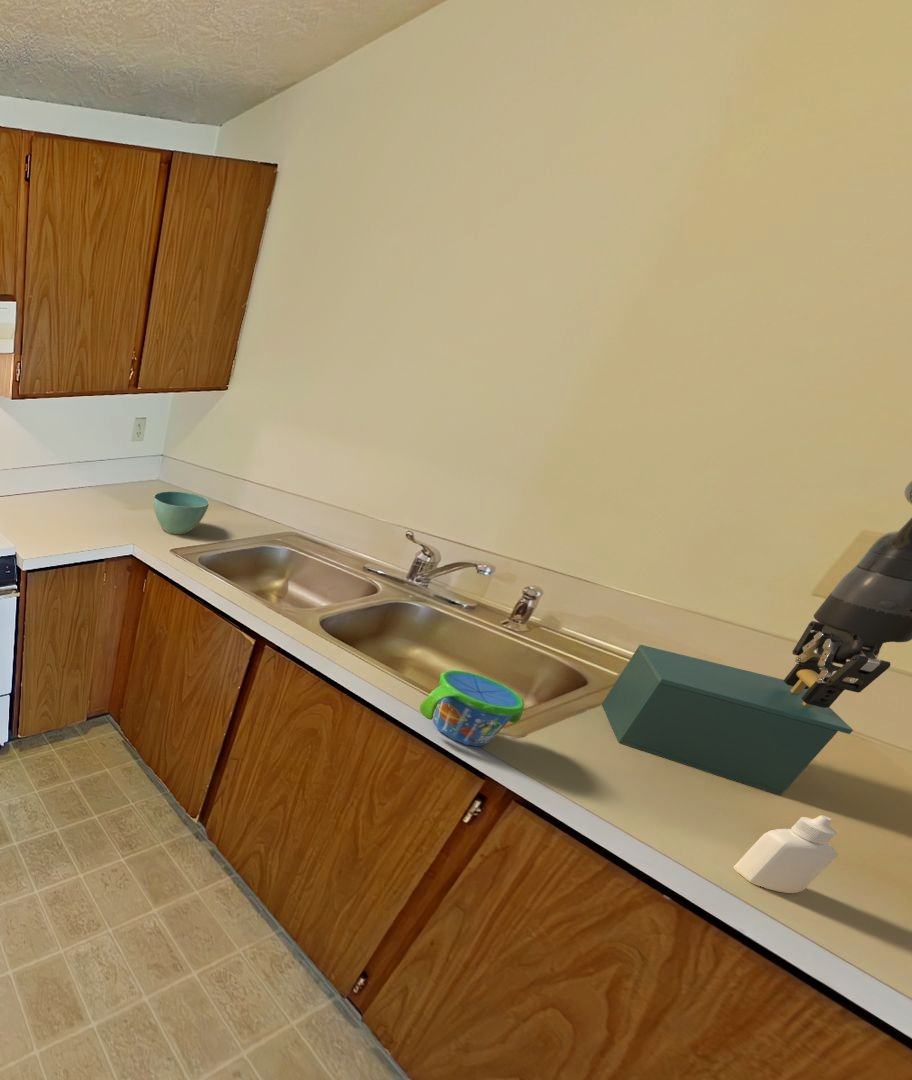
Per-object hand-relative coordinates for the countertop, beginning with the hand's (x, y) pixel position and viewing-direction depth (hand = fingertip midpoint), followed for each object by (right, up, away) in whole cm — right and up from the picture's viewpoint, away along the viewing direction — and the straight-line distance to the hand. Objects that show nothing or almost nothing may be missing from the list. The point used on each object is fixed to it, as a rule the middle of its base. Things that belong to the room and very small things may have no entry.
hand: (804, 694), depth 80 cm
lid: (-5, 0, +5) cm, 6 cm away
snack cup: (-42, -11, +13) cm, 45 cm away
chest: (-5, -12, +10) cm, 16 cm away
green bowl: (-53, +28, +105) cm, 121 cm away
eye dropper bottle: (-26, -22, -12) cm, 36 cm away
